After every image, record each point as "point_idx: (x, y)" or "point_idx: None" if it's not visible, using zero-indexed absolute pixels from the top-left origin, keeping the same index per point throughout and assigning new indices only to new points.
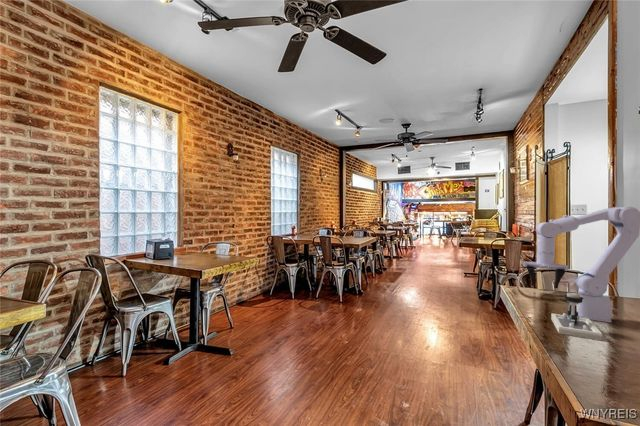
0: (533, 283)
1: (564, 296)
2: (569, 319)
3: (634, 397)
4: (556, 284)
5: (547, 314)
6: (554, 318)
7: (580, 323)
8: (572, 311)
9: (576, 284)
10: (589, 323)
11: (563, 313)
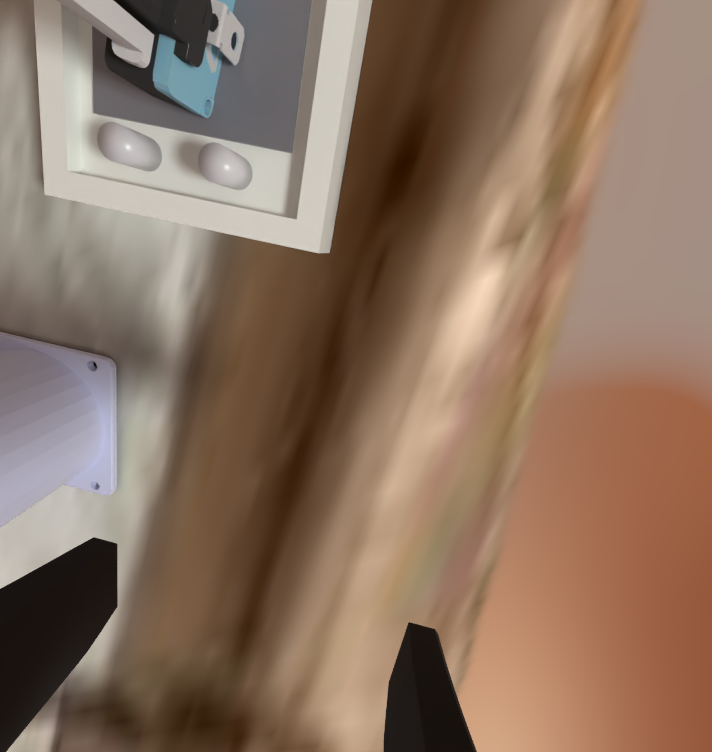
0: (423, 657)
1: None
2: (209, 96)
3: None
4: (47, 585)
5: (316, 385)
6: (352, 39)
7: None
8: None
9: None
10: (64, 22)
11: (226, 171)
